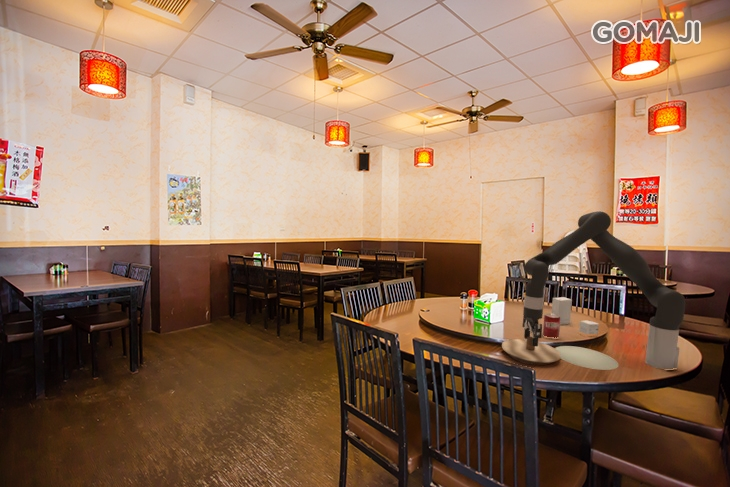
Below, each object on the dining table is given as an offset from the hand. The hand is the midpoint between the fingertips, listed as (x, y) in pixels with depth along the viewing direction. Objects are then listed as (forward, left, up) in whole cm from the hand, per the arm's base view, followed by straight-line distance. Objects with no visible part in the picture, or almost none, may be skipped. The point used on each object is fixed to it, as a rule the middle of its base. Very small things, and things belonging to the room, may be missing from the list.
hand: (530, 342), depth 146 cm
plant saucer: (0, 0, -7) cm, 7 cm away
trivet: (-24, -2, -7) cm, 25 cm away
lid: (0, 0, -4) cm, 4 cm away
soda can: (-20, -25, -7) cm, 33 cm away
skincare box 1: (-37, -51, -7) cm, 63 cm away
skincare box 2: (-42, -32, -7) cm, 53 cm away
